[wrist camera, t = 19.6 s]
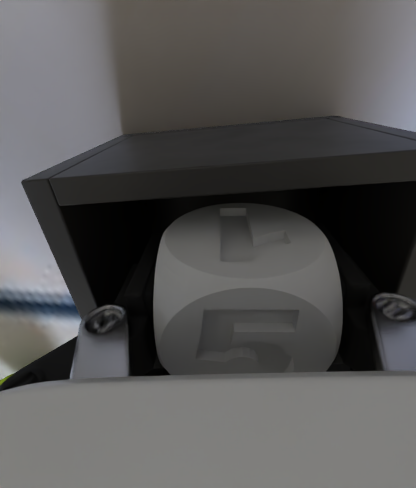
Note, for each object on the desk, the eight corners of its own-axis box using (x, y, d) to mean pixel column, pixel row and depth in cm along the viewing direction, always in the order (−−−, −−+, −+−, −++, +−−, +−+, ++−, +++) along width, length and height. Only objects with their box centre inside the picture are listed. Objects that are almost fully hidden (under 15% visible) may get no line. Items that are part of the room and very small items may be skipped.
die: (302, 200, 10) (364, 282, 6) (287, 299, 13) (322, 407, 8) (173, 202, 10) (141, 283, 6) (183, 299, 13) (165, 404, 9)
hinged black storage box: (122, 134, 15) (19, 181, 7) (337, 115, 14) (481, 144, 6) (165, 323, 22) (137, 446, 14) (308, 317, 21) (359, 445, 13)
